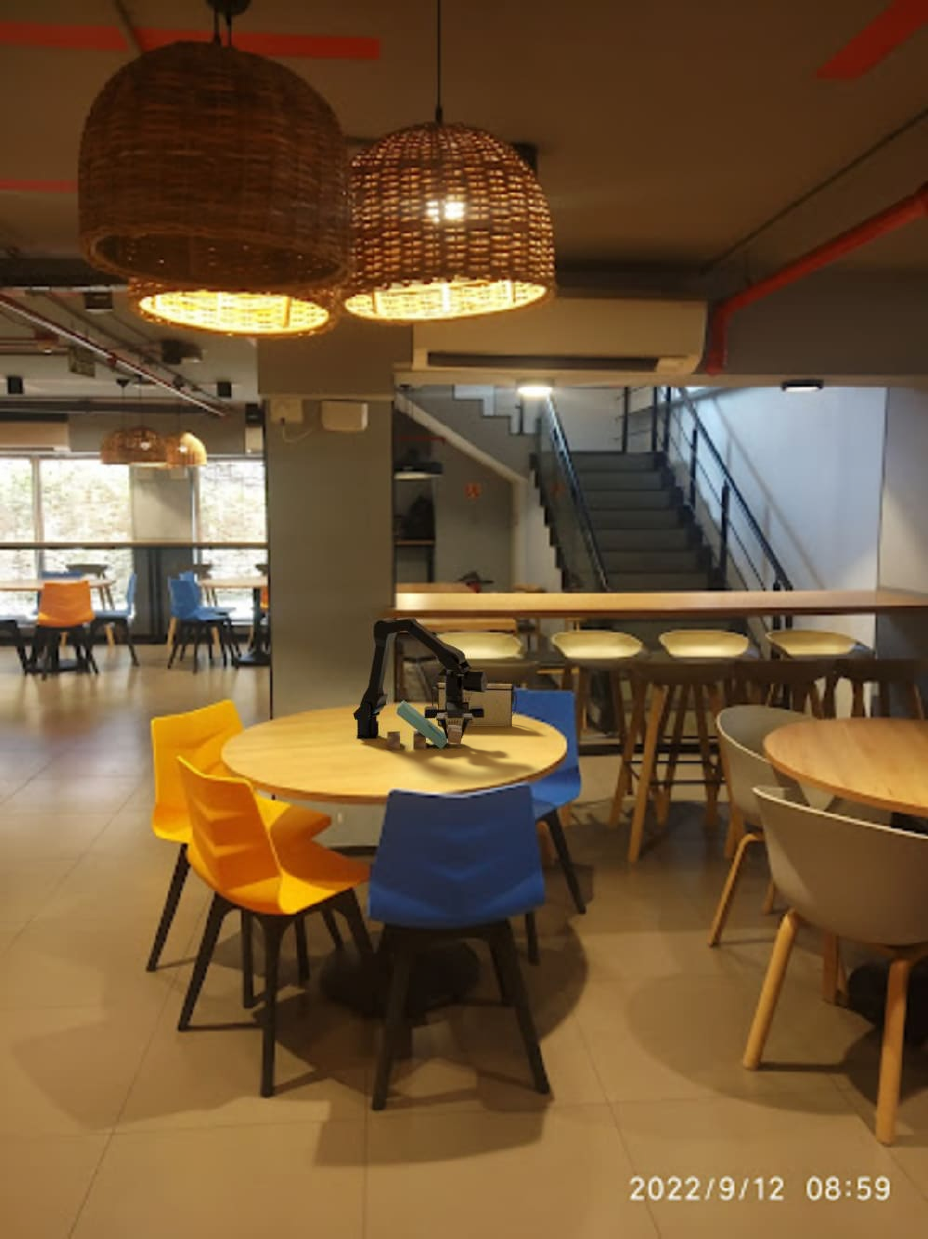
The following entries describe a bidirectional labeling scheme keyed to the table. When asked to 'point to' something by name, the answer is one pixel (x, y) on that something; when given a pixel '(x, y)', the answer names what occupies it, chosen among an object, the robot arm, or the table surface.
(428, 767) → the table surface
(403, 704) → the slab
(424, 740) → the block
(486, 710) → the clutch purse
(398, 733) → the block
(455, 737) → the block
